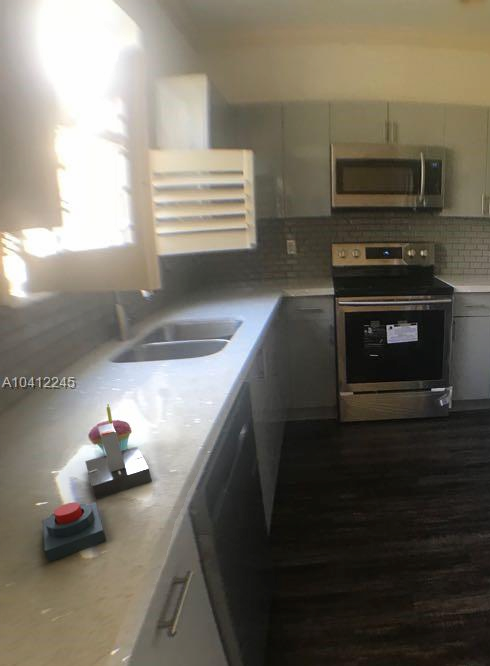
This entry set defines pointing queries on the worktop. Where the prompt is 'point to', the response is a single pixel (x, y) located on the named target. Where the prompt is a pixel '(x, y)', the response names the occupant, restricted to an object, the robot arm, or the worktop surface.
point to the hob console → (118, 473)
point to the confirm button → (68, 513)
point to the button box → (73, 533)
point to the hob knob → (111, 447)
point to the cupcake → (120, 427)
